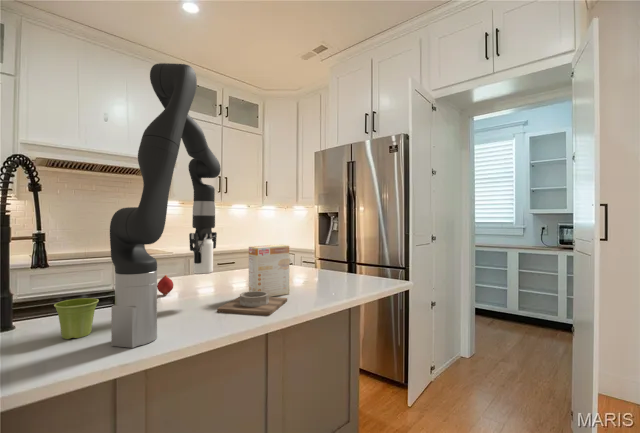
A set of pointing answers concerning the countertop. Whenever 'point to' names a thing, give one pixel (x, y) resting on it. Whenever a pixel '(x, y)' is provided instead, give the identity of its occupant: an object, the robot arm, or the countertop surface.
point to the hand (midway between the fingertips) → (203, 262)
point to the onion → (165, 285)
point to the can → (205, 258)
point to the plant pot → (76, 316)
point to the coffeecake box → (269, 269)
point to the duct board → (253, 310)
